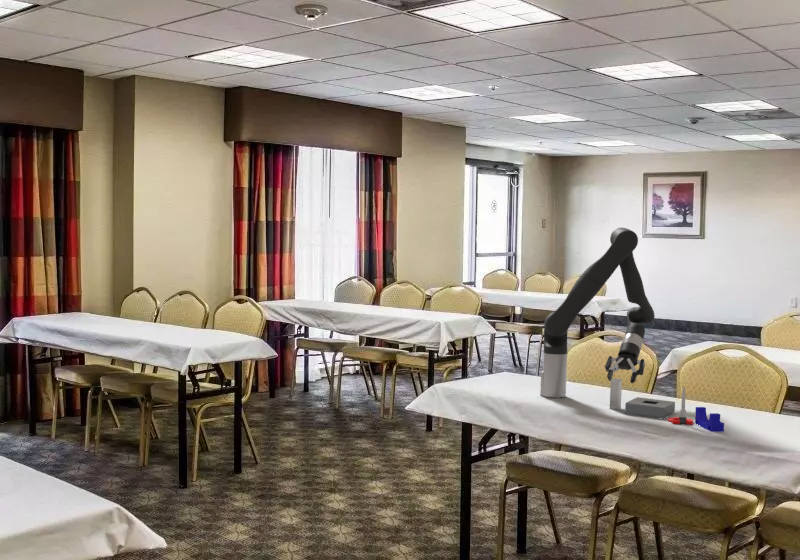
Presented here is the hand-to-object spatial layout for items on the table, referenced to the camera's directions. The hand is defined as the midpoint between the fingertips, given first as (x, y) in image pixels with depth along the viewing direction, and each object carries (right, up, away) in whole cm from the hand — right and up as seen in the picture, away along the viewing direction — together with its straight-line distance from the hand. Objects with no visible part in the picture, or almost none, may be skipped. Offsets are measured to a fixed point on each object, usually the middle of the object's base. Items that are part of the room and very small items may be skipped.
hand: (620, 380), depth 328 cm
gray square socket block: (+8, -11, -10) cm, 17 cm away
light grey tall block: (-3, -10, -3) cm, 11 cm away
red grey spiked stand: (+15, -12, -24) cm, 30 cm away
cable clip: (+22, -13, -32) cm, 41 cm away
